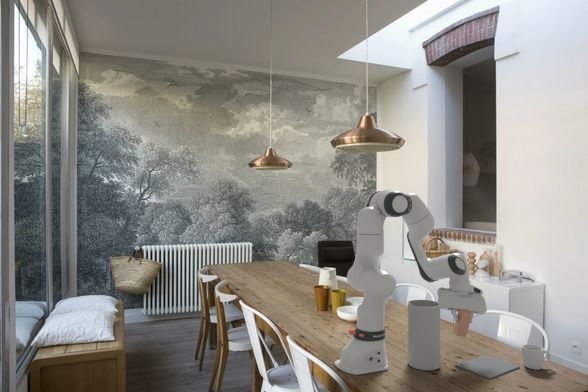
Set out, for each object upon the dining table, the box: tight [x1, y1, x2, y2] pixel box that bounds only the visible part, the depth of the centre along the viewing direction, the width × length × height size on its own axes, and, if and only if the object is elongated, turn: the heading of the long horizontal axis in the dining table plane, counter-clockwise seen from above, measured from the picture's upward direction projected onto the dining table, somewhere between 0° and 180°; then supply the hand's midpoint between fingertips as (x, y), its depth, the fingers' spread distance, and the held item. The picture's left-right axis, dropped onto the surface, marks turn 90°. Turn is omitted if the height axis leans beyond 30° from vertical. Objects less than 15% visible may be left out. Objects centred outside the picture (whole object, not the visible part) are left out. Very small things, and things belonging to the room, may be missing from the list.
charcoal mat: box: [455, 354, 520, 380], centre depth 170 cm, size 20×15×1 cm
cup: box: [521, 344, 551, 371], centre depth 170 cm, size 11×8×8 cm
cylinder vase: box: [407, 299, 441, 372], centre depth 172 cm, size 12×12×25 cm
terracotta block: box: [452, 310, 473, 338], centre depth 179 cm, size 4×4×10 cm
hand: (463, 321), depth 178 cm, fingers closed on terracotta block, 4 cm apart
